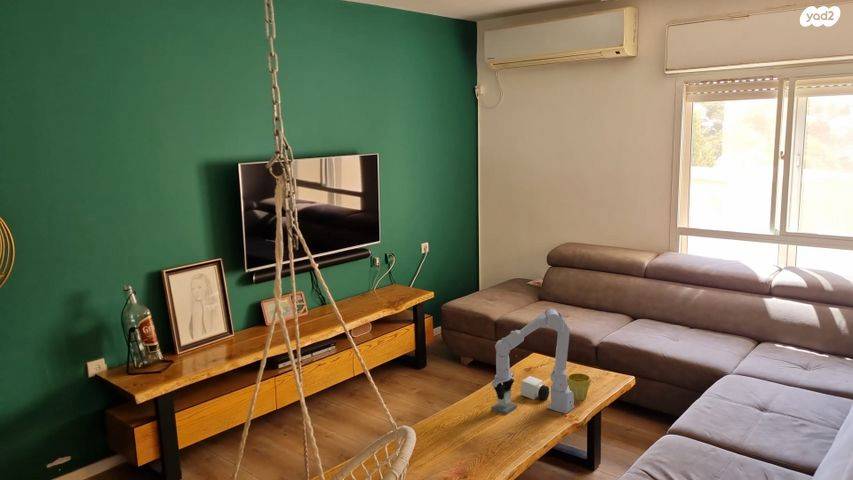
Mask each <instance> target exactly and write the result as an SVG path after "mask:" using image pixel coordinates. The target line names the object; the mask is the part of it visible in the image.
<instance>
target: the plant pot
mask: <svg viewBox="0 0 853 480" xmlns="http://www.w3.org/2000/svg"><path fill="white" fill-rule="evenodd" d="M566 379H567V382H568V389H569V390H570V391H572V392H573V393H574V401H580V402H581V401H584V400H586V399H587V395H588V391H589V387H591V380H592V379H591V376H590V375H589V374H586V373H581V372H575V373H574V372H573V373H570V374H568V375H567V377H566Z"/></svg>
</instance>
